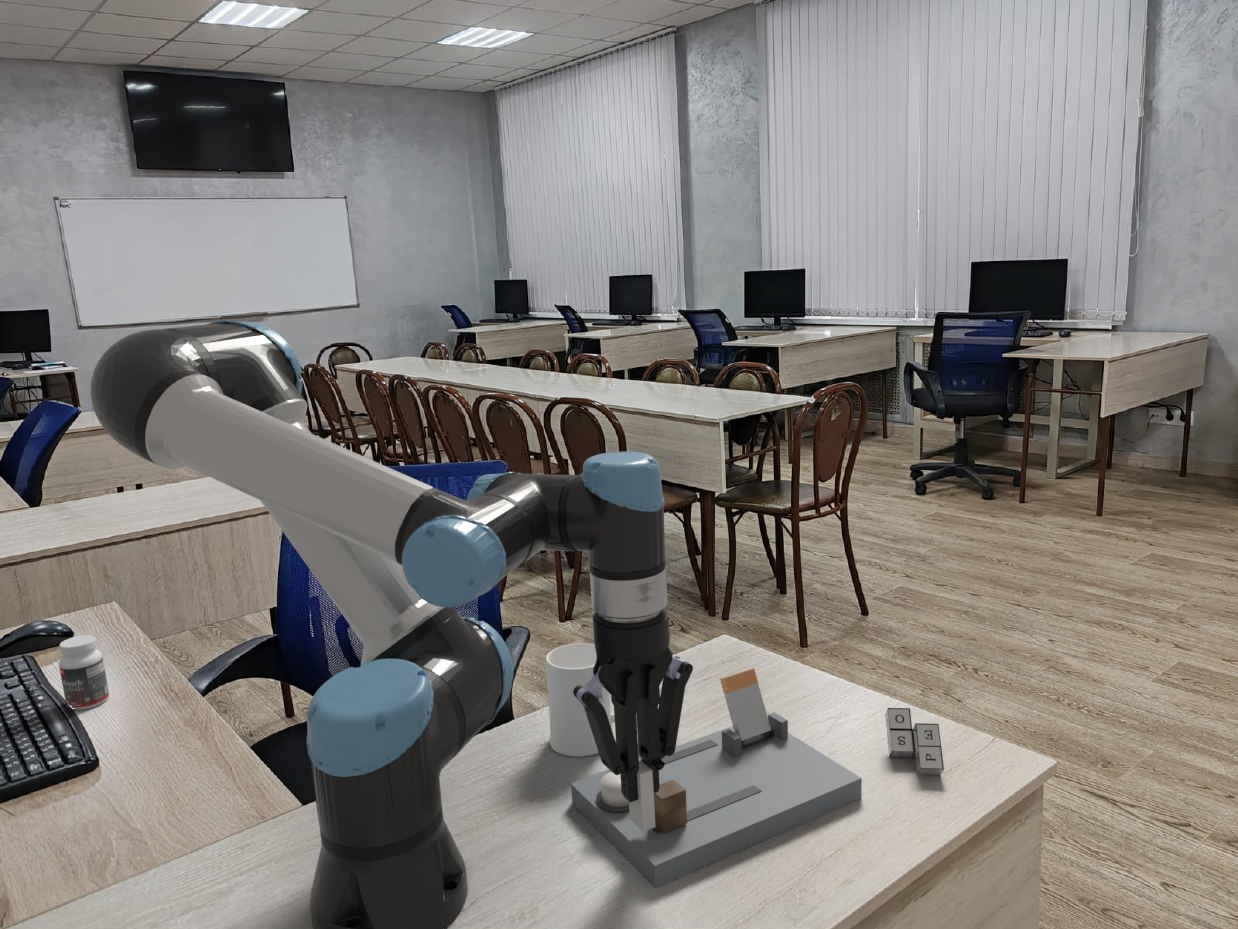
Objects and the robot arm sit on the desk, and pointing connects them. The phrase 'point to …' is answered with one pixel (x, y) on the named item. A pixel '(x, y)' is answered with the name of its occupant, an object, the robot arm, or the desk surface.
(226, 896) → the desk surface
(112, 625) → the desk surface
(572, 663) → the mug
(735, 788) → the panel
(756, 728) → the lever
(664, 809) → the slider
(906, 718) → the building blocks
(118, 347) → the robot arm
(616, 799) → the button
